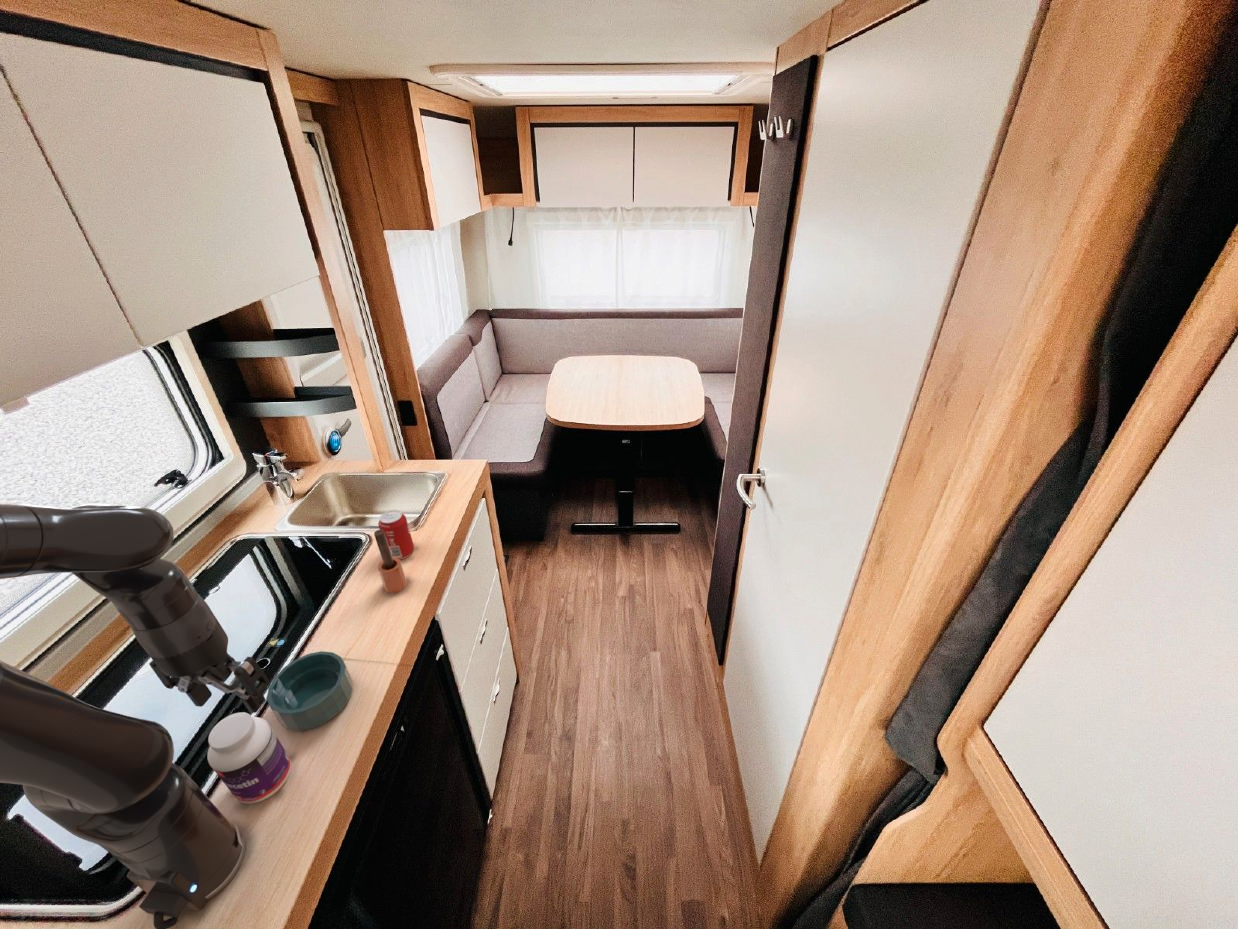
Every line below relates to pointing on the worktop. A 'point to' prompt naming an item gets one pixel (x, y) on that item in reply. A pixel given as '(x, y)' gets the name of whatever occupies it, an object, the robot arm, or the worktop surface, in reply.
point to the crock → (393, 576)
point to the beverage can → (396, 533)
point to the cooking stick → (384, 549)
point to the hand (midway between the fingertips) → (231, 704)
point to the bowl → (310, 690)
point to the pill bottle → (248, 757)
